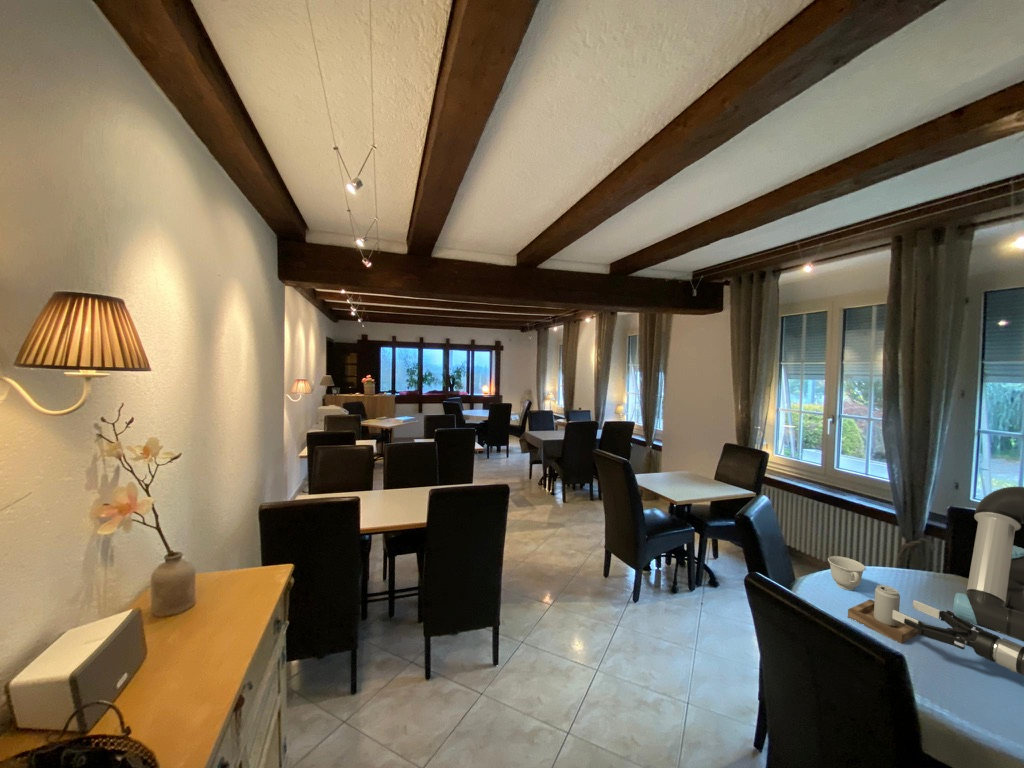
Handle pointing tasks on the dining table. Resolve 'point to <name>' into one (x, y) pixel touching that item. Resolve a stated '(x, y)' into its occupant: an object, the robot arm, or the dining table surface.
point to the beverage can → (886, 604)
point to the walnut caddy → (866, 616)
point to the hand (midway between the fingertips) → (903, 608)
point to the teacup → (846, 572)
